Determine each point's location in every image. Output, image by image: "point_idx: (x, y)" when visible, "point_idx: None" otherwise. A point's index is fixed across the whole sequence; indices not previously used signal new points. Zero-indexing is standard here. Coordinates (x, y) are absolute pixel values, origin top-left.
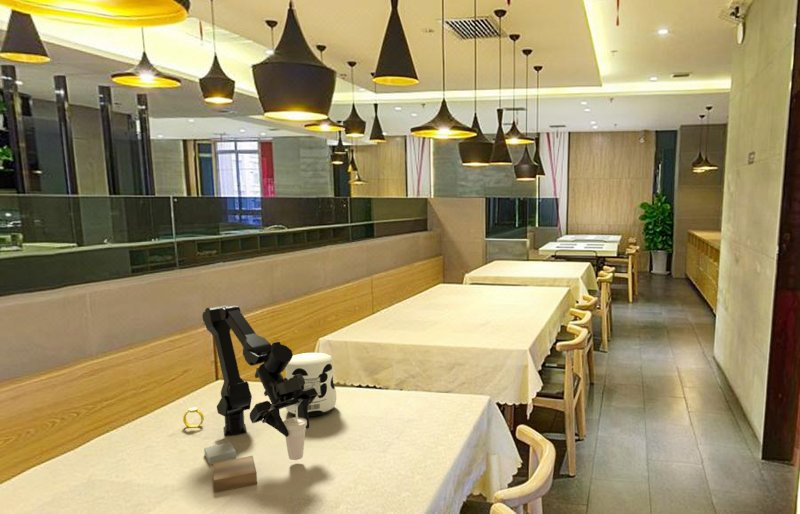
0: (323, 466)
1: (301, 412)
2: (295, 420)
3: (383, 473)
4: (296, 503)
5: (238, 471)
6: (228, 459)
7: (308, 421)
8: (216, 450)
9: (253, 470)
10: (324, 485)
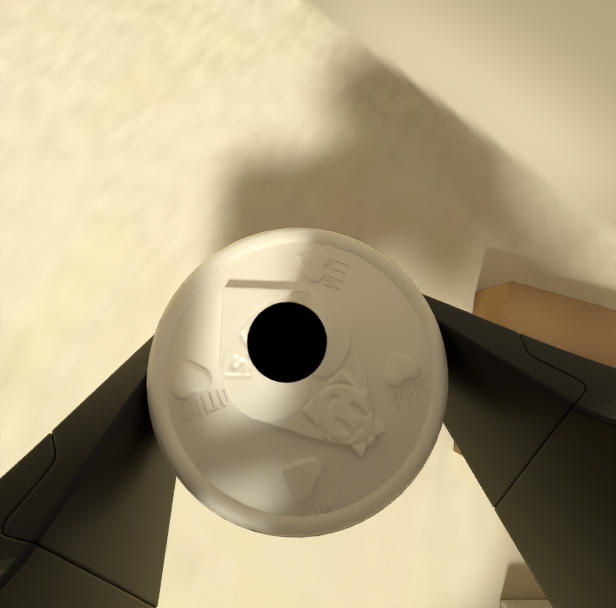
0: None
1: (103, 548)
2: (289, 383)
3: (50, 65)
4: (402, 97)
5: (576, 339)
6: (536, 600)
7: (130, 361)
8: None
9: (519, 306)
10: (278, 132)
